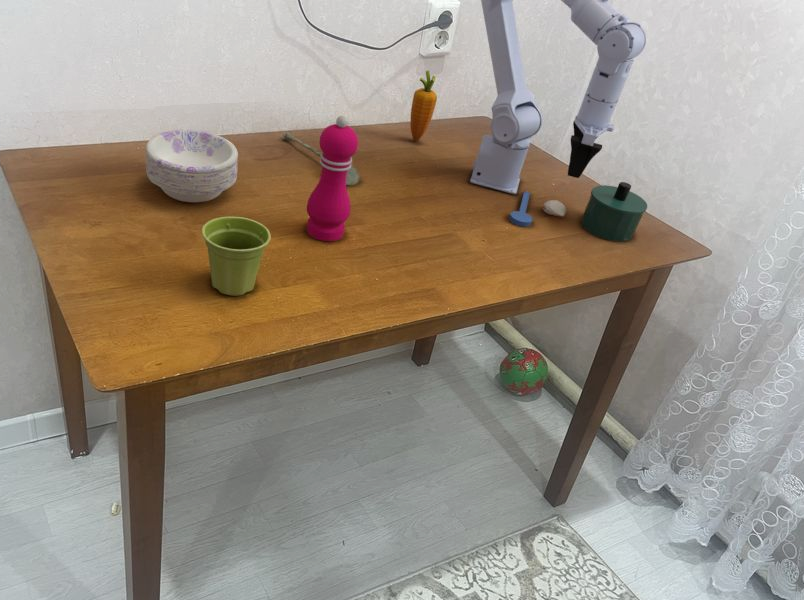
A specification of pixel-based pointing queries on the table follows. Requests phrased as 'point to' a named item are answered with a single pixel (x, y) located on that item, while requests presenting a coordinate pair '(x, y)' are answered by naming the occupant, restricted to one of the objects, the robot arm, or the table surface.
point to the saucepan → (609, 222)
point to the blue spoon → (521, 213)
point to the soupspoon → (352, 173)
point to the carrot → (422, 107)
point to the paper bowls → (191, 164)
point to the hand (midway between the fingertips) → (574, 168)
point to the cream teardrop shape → (554, 208)
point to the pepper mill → (332, 183)
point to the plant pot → (234, 252)
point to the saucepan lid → (619, 198)
